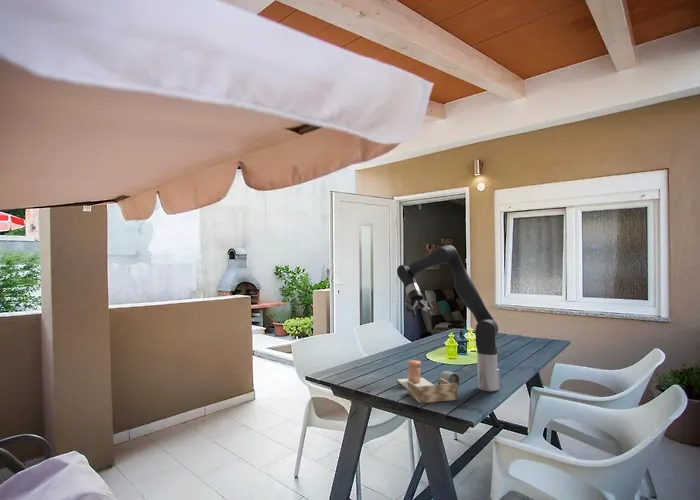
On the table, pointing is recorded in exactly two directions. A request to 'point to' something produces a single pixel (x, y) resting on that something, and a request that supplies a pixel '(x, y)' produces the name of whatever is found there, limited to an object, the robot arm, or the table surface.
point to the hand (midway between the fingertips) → (423, 317)
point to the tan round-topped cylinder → (414, 371)
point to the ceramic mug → (450, 377)
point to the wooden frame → (433, 392)
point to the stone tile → (422, 383)
